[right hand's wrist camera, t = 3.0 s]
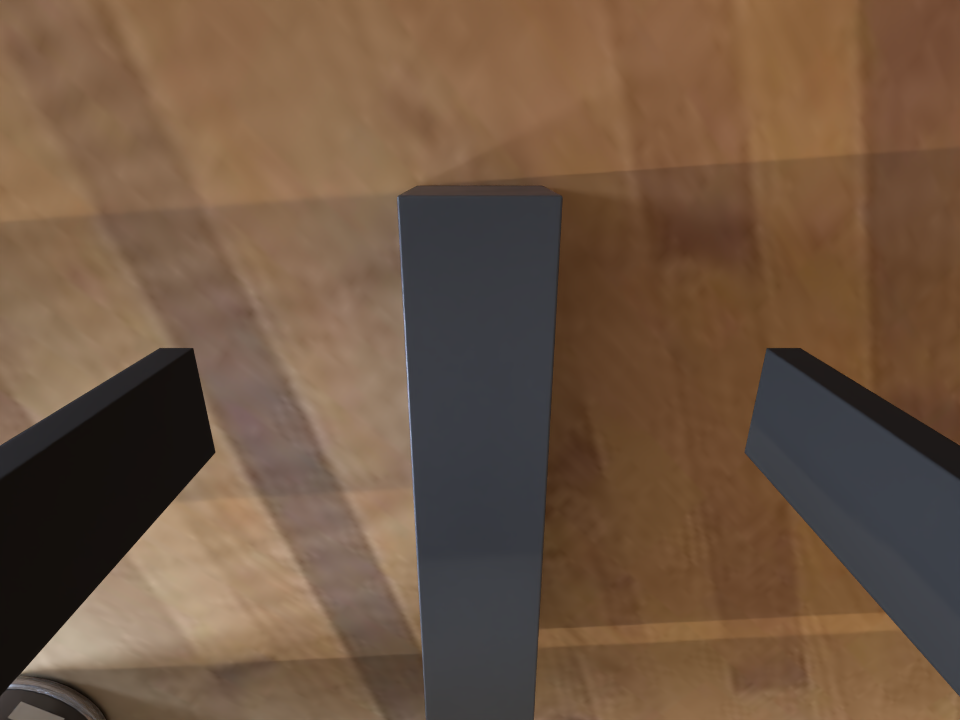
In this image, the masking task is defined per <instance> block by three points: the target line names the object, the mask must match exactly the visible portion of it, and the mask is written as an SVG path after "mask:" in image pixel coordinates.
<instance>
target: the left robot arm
mask: <svg viewBox="0 0 960 720" xmlns="http://www.w3.org/2000/svg"><path fill="white" fill-rule="evenodd" d="M0 720H106V719H105V717H104V715H103V714H102V712H101V711H100V710H99V709H98V707H97V706H96V705H95V704H94V703H92V702H91V701H90V700H89V699H88V698H86V697H85V696H84V695H82V694H80V693H79V692H77V691H75V690H73V689H72V688H69V687H67V686H65V685H62V684H60V683H57V682H54V681H51V680H47V679H42V678H37V677H27V676H18V677H17V678H16V679H15V680H14V681H13V683H12V684H11V685H10V686H9V687H8V688H7V689H6V691H5V692H4V693H3V694H2V695H1V696H0Z"/></svg>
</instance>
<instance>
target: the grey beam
mask: <svg viewBox="0 0 960 720" xmlns="http://www.w3.org/2000/svg"><path fill="white" fill-rule="evenodd" d="M562 199H563V198H562V196H561V195H559V194H557V193H555V192H553V191H552V190H550V189H548V188H546V187H544V186H416V187H414V188H412V189H410V190H408V191H406V192H404V193H402V194H401V195H399V196H398V197H397V203H398V222H399V240H400V258H401V276H402V294H403V313H404V331H405V349H406V367H407V385H408V403H409V422H410V440H411V458H412V476H413V494H414V512H415V531H416V549H417V567H418V585H419V603H420V621H421V640H422V658H423V676H424V694H425V712H426V720H534V705H535V687H536V669H537V651H538V633H539V615H540V597H541V579H542V561H543V543H544V525H545V507H546V489H547V471H548V452H549V434H550V416H551V398H552V380H553V362H554V344H555V326H556V308H557V290H558V272H559V254H560V236H561V218H562Z"/></svg>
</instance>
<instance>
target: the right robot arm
mask: <svg viewBox="0 0 960 720" xmlns="http://www.w3.org/2000/svg"><path fill="white" fill-rule="evenodd" d="M214 454H215V448H214V444H213V439H212V434H211V429H210V425H209V420H208V415H207V411H206V406H205V401H204V397H203V392H202V387H201V382H200V378H199V373H198V368H197V364H196V359H195V354H194V349H193V348H159V349H158V350H156V351H154V352H153V353H151V354H149V355H148V356H146V357H145V358H143V359H141V360H140V361H138V362H136V363H135V364H133V365H131V366H130V367H128V368H127V369H125V370H123V371H122V372H120V373H118V374H117V375H115V376H113V377H112V378H110V379H109V380H107V381H105V382H104V383H102V384H100V385H99V386H97V387H95V388H94V389H92V390H91V391H89V392H87V393H86V394H84V395H82V396H81V397H79V398H77V399H76V400H74V401H73V402H71V403H69V404H68V405H66V406H64V407H63V408H61V409H59V410H58V411H56V412H54V413H53V414H51V415H50V416H48V417H46V418H45V419H43V420H41V421H40V422H38V423H36V424H35V425H33V426H32V427H30V428H28V429H27V430H25V431H23V432H22V433H20V434H18V435H17V436H15V437H14V438H12V439H10V440H9V441H7V442H5V443H4V444H2V445H0V696H1V695H2V694H3V693H4V692H5V691H6V689H7V688H8V687H9V686H10V685H11V684H12V683H13V681H14V680H15V679H16V678H17V677H18V676H19V675H20V674H21V672H22V671H23V670H24V669H25V668H26V667H27V666H28V664H29V663H30V662H31V661H32V660H33V659H34V658H35V657H36V655H37V654H38V653H39V652H40V651H41V650H42V649H43V647H44V646H45V645H46V644H47V643H48V642H49V641H50V640H51V638H52V637H53V636H54V635H55V634H56V633H57V632H58V630H59V629H60V628H61V627H62V626H63V625H64V624H65V623H66V621H67V620H68V619H69V618H70V617H71V616H72V615H73V613H74V612H75V611H76V610H77V609H78V608H79V607H80V605H81V604H82V603H83V602H84V601H85V600H86V599H87V598H88V596H89V595H90V594H91V593H92V592H93V591H94V590H95V588H96V587H97V586H98V585H99V584H100V583H101V582H102V581H103V579H104V578H105V577H106V576H107V575H108V574H109V573H110V571H111V570H112V569H113V568H114V567H115V566H116V565H117V564H118V562H119V561H120V560H121V559H122V558H123V557H124V556H125V554H126V553H127V552H128V551H129V550H130V549H131V548H132V547H133V545H134V544H135V543H136V542H137V541H138V540H139V539H140V537H141V536H142V535H143V534H144V533H145V532H146V531H147V530H148V528H149V527H150V526H151V525H152V524H153V523H154V522H155V520H156V519H157V518H158V517H159V516H160V515H161V514H162V513H163V511H164V510H165V509H166V508H167V507H168V506H169V505H170V503H171V502H172V501H173V500H174V499H175V498H176V497H177V496H178V494H179V493H180V492H181V491H182V490H183V489H184V488H185V486H186V485H187V484H188V483H189V482H190V481H191V480H192V479H193V477H194V476H195V475H196V474H197V473H198V472H199V471H200V469H201V468H202V467H203V466H204V465H205V464H206V463H207V461H208V460H209V459H210V458H211V457H212V456H213V455H214ZM745 454H746V455H747V456H748V457H749V458H750V459H751V460H752V461H753V463H754V464H755V465H756V466H757V467H758V468H759V469H760V471H761V472H762V473H763V474H764V475H765V476H766V477H767V479H768V480H769V481H770V482H771V483H772V484H773V485H774V486H775V488H776V489H777V490H778V491H779V492H780V493H781V494H782V496H783V497H784V498H785V499H786V500H787V501H788V502H789V503H790V505H791V506H792V507H793V508H794V509H795V510H796V511H797V513H798V514H799V515H800V516H801V517H802V518H803V519H804V520H805V522H806V523H807V524H808V525H809V526H810V527H811V528H812V530H813V531H814V532H815V533H816V534H817V535H818V536H819V537H820V539H821V540H822V541H823V542H824V543H825V544H826V545H827V547H828V548H829V549H830V550H831V551H832V552H833V553H834V554H835V556H836V557H837V558H838V559H839V560H840V561H841V562H842V564H843V565H844V566H845V567H846V568H847V569H848V570H849V571H850V573H851V574H852V575H853V576H854V577H855V578H856V579H857V581H858V582H859V583H860V584H861V585H862V586H863V587H864V588H865V590H866V591H867V592H868V593H869V594H870V595H871V596H872V598H873V599H874V600H875V601H876V602H877V603H878V604H879V605H880V607H881V608H882V609H883V610H884V611H885V612H886V613H887V615H888V616H889V617H890V618H891V619H892V620H893V621H894V623H895V624H896V625H897V626H898V627H899V628H900V629H901V630H902V632H903V633H904V634H905V635H906V636H907V637H908V638H909V640H910V641H911V642H912V643H913V644H914V645H915V646H916V647H917V649H918V650H919V651H920V652H921V653H922V654H923V655H924V657H925V658H926V659H927V660H928V661H929V662H930V663H931V664H932V666H933V667H934V668H935V669H936V670H937V671H938V672H939V674H940V675H941V676H942V677H943V678H944V679H945V680H946V681H947V683H948V684H949V685H950V686H951V687H952V688H953V689H954V691H955V692H956V693H957V694H958V695H959V696H960V445H958V444H956V443H955V442H953V441H951V440H950V439H948V438H946V437H945V436H943V435H942V434H940V433H938V432H937V431H935V430H933V429H932V428H930V427H928V426H927V425H925V424H924V423H922V422H920V421H919V420H917V419H915V418H914V417H912V416H910V415H909V414H907V413H905V412H904V411H902V410H901V409H899V408H897V407H896V406H894V405H892V404H891V403H889V402H887V401H886V400H884V399H883V398H881V397H879V396H878V395H876V394H874V393H873V392H871V391H869V390H868V389H866V388H865V387H863V386H861V385H860V384H858V383H856V382H855V381H853V380H851V379H850V378H848V377H847V376H845V375H843V374H842V373H840V372H838V371H837V370H835V369H833V368H832V367H830V366H829V365H827V364H825V363H824V362H822V361H820V360H819V359H817V358H815V357H814V356H812V355H811V354H809V353H807V352H806V351H804V350H802V349H801V348H767V349H766V354H765V359H764V364H763V368H762V373H761V378H760V382H759V387H758V392H757V397H756V401H755V406H754V411H753V415H752V420H751V425H750V429H749V434H748V439H747V444H746V448H745Z"/></svg>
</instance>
